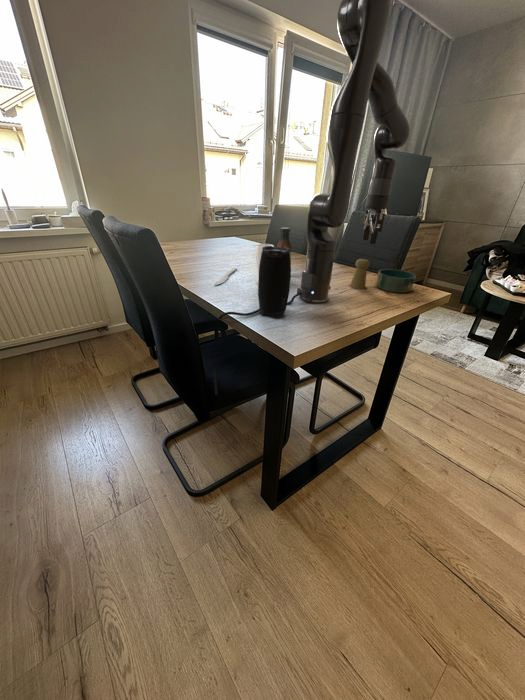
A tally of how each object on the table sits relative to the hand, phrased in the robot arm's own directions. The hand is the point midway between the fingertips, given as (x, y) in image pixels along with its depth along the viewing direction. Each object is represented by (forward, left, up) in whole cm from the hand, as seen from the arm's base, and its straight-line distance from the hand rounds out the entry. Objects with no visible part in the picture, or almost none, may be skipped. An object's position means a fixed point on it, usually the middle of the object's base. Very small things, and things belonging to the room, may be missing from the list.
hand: (368, 241), depth 108 cm
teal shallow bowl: (+12, -7, -18) cm, 23 cm away
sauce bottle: (-22, +25, -18) cm, 38 cm away
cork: (-1, 0, -18) cm, 18 cm away
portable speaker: (-48, -11, -18) cm, 52 cm away
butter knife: (-46, +32, -18) cm, 58 cm away
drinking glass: (-36, +17, -18) cm, 43 cm away
